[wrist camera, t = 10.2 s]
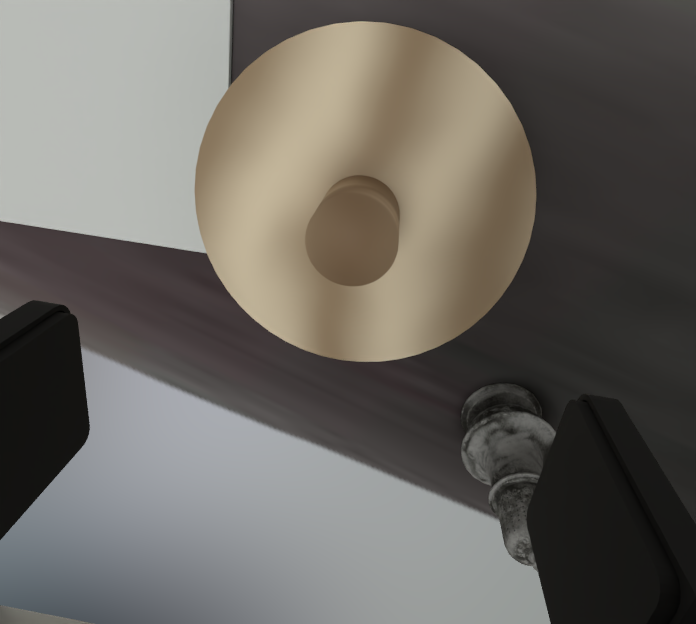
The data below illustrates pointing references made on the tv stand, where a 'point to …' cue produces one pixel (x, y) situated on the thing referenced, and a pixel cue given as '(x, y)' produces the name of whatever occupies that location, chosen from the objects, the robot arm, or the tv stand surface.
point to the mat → (109, 113)
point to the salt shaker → (507, 456)
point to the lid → (365, 191)
